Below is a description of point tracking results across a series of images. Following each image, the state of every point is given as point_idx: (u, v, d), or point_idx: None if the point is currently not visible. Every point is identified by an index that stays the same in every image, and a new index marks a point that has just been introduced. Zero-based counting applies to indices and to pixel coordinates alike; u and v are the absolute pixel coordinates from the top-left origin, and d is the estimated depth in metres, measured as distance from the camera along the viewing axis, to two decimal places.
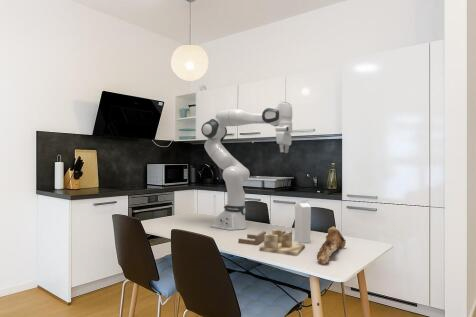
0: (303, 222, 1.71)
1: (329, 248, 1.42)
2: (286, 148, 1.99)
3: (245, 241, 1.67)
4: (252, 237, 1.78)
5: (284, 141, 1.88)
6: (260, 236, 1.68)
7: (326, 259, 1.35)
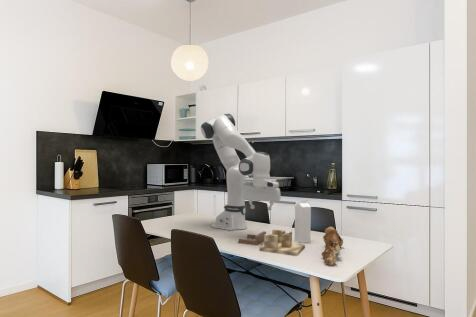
0: (303, 222, 1.71)
1: (334, 249, 1.41)
2: (251, 203, 1.72)
3: (245, 241, 1.67)
4: (252, 237, 1.78)
5: None
6: (260, 236, 1.68)
7: (334, 260, 1.34)
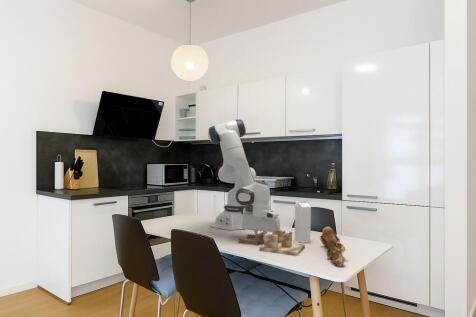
0: (303, 222, 1.71)
1: (339, 249, 1.41)
2: (257, 233, 1.71)
3: (245, 241, 1.67)
4: (252, 237, 1.78)
5: None
6: (260, 236, 1.68)
7: (343, 261, 1.33)
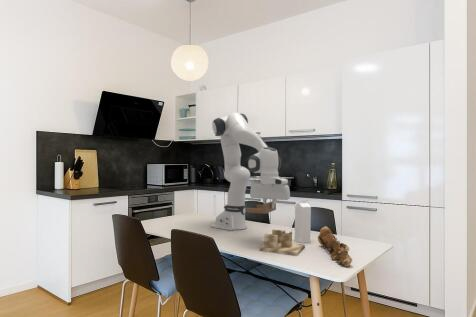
0: (303, 222, 1.71)
1: (344, 249, 1.41)
2: (265, 202, 1.62)
3: (253, 210, 1.59)
4: (262, 207, 1.69)
5: None
6: (269, 204, 1.59)
7: (350, 261, 1.33)
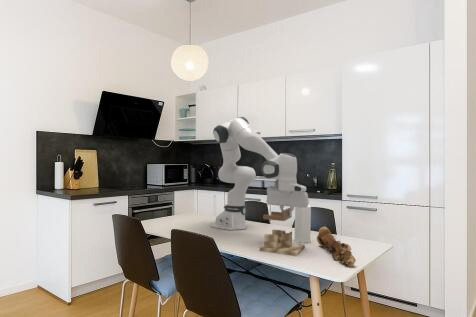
0: (303, 222, 1.71)
1: (346, 249, 1.41)
2: (282, 209, 1.58)
3: (271, 217, 1.54)
4: (277, 214, 1.65)
5: None
6: (287, 212, 1.55)
7: (354, 261, 1.33)
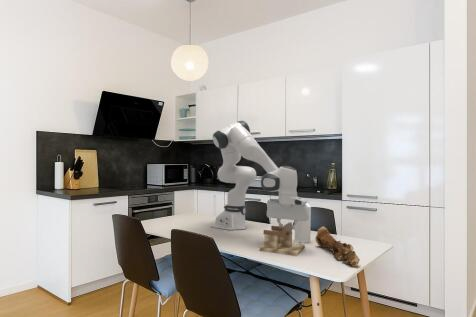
0: (303, 222, 1.71)
1: (348, 249, 1.41)
2: (279, 222, 1.59)
3: (271, 232, 1.54)
4: (277, 229, 1.65)
5: None
6: (287, 227, 1.55)
7: (358, 261, 1.33)
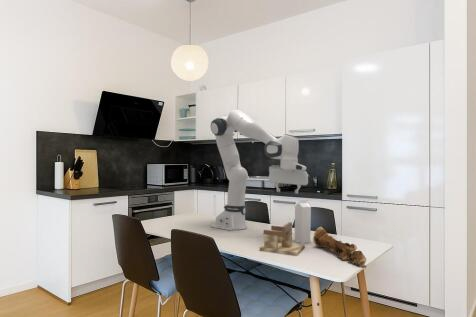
0: (303, 222, 1.71)
1: (353, 249, 1.42)
2: (277, 186, 1.70)
3: (271, 232, 1.54)
4: (277, 229, 1.65)
5: None
6: (287, 227, 1.55)
7: (365, 260, 1.34)
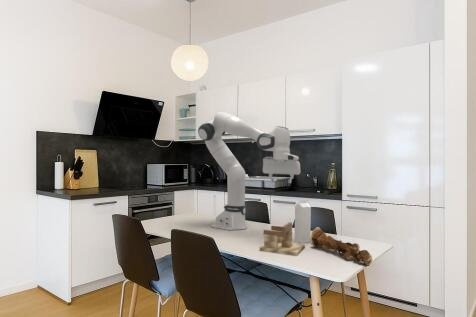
0: (303, 222, 1.71)
1: (356, 248, 1.43)
2: (271, 177, 1.76)
3: (271, 232, 1.54)
4: (277, 229, 1.65)
5: None
6: (287, 227, 1.55)
7: (371, 259, 1.36)
